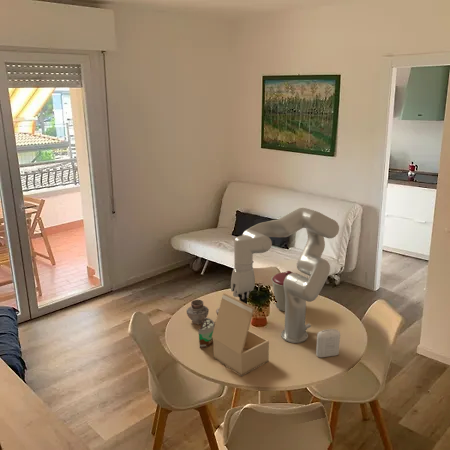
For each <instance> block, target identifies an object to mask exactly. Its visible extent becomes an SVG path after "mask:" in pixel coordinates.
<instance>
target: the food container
mask: <svg viewBox="0 0 450 450" xmlns="http://www.w3.org/2000/svg"><path fill="white" fill-rule="evenodd" d="M214 327H215V322H214V320H212V319H211V318H209V317H206V318H205V319H204V321H203V323H201V326H200V327H199V329H198V343H199V348H200V349H204V348H208V347H209V348H210V346H212V345H213V338H212V334H213V330H214Z"/></svg>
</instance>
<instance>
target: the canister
mask: <svg viewBox="0 0 450 450" xmlns="http://www.w3.org/2000/svg"><path fill="white" fill-rule="evenodd" d="M291 273H294V272H292V271H291V270H287V271H285V272H284V271H283V272H278V273H276V274H274V275H273V276H271V282H272V288H273V289H272V290H273V297H274V296H275V299H276V301H277V303H275V302H274V305H275V307H276V308H277V309H278V310H279V311H281V312H285V291H284V279H285V277H286V276H287V275H288V274H291ZM295 273H296V272H295ZM296 274H299V273H296ZM299 275H301V274H299Z"/></svg>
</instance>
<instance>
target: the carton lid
mask: <svg viewBox="0 0 450 450" xmlns="http://www.w3.org/2000/svg"><path fill="white" fill-rule="evenodd" d="M219 307H220V308H219ZM219 307H218V308H219V312H218V315H217V316H216V320H215V322H214V325H215V327H214V330H213V334H212V338H214V339H216V340H217V341H219V342H220V343H222V344H224V345H225V346H227V347H229V348H230V349H232V350H234V351H235V352H237V353H239V354H240V355H242V352H243V349H244V345H245V341H246V337H247V334H248V330H250V326H251V324H252V323H251V322H252V319H253V315H254V311H255V307H254V306H252V305H251V304H248V303H247V304H246V303H244V302H242V301H240V300H239V299H238V298H237V297H234V296H233V295H231V294H228V293H225V292H223V294H222V296H221V300H220V305H219Z"/></svg>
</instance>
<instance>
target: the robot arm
mask: <svg viewBox="0 0 450 450" xmlns="http://www.w3.org/2000/svg"><path fill="white" fill-rule="evenodd" d="M302 229H306V233H307V239H306V240H307V241H306V244H305V246H304V248H303V250H302V252H301V253H300V256H299V257H298V260H297V263H296V269H297V270H298V271H299V272H301V273H302V274H300V275H299V273H297V274H296V272H293V273H291V274H288V275H287V276H286V277H285V279H284V291H285V311H284V329H283V330H282V331H281V333H280V335H281V338H282V339H283V340H284V341H286V342H288V343H293V344H299V343H304V342H305V341H307V340H308V337H309V334H308V332H307V330H308V329H309V328H311V326H312V325H311V324H310V323H306V315H307V314H306V313H307V310H306V309H307V302H314V301H315V300H316V299H317V298H318V296H319V295H320V293H321V291H322V290H323V287H324V286H325V283H326V282H327V279H328V277H329V275H330V272H331V266H330V263H329V261H327V259H326V258H325V259H324V258H322V255H323V253H324V251H325V247H326V242H325V238H326V239H333V238H336V237H337V235H338V234H339V231H340V225H339V223H338V222H337V221H336V220H335V219H333V218H331V217H329V216H327V215H325V214H323V213H322V212H319V211H317V210H313V209H310V208H307V207H299V208H296V209H294V210H293V211H291V212H289V213H287V214H286V215H284V216H282V217H280V218H278V219H272V220H268V221H263V222H259V223H257V224H254V225H253V226H250V227H249V228H247V229H245V230H244V231H243V233H242V234H241V235H239V236H237V237H235V238H234V241H233V242H234V249H233V251H234V253H233V254H234V256H233V258H234V259H233V260H234V261H233V263H234V268H233V269H232V273H231V278H230V291H231V292H232V297H234V298H239V299H238V300H240V301H242V302H244V303H246V304H248V299H249V295H250V294H251V292H252V291H254V288H255V286H256V285H255V284H256V283H255V282H256V281H255V280H256V278H255V269H254V267H253V265H254V259H253V258H254V257H253V255H254V254H262V253H267V252H268V251H270V250H271V248H272V245H273V244H272V243H273V241H272V239H271V238H287V237H288V238H289V237H290V236H291V235H293V234H295V233H297V232H298V231H300V230H302ZM303 274H305V275H307V276H309V278H308V277H306V276H303Z"/></svg>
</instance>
